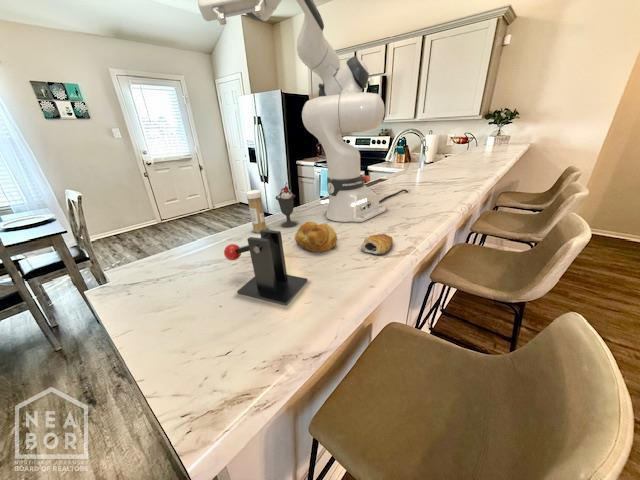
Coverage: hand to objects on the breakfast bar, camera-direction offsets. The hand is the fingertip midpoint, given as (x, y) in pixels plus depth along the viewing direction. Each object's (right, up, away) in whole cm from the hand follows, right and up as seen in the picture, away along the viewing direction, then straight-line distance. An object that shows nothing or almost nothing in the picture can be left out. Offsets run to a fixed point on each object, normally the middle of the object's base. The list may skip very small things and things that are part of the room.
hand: (240, 17), depth 66 cm
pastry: (+35, -58, +5) cm, 68 cm away
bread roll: (+19, -57, +9) cm, 61 cm away
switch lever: (+5, -59, -10) cm, 60 cm away
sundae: (+9, -50, +26) cm, 57 cm away
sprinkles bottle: (0, -52, +23) cm, 57 cm away
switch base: (+10, -66, -9) cm, 67 cm away
